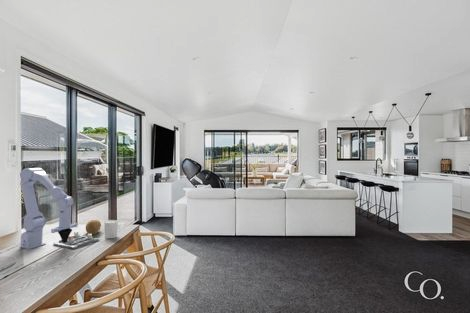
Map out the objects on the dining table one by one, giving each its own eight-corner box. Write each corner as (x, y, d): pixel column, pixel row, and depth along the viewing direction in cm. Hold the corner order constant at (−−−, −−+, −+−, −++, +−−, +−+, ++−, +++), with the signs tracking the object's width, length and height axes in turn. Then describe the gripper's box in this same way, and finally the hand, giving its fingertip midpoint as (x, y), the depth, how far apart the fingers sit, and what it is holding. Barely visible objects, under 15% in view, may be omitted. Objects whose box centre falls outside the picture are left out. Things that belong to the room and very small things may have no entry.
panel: (73, 249, 151) (74, 240, 151) (53, 245, 156) (53, 236, 156) (98, 240, 167) (99, 232, 167) (79, 237, 172) (79, 229, 172)
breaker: (69, 243, 156) (70, 237, 156) (66, 243, 157) (66, 236, 157) (74, 242, 159) (74, 235, 159) (71, 241, 160) (71, 235, 160)
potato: (102, 229, 190) (102, 216, 190) (98, 236, 175) (98, 222, 175) (88, 230, 187) (88, 216, 187) (83, 237, 172) (83, 222, 172)
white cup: (114, 234, 180) (115, 219, 180) (119, 237, 174) (119, 221, 174) (102, 236, 175) (102, 221, 174) (106, 239, 169) (107, 223, 169)
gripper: (57, 222, 146) (57, 247, 146) (81, 216, 160) (81, 239, 160) (48, 220, 148) (48, 245, 149) (72, 215, 162) (72, 238, 162)
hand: (64, 242), depth 154 cm, fingers closed
